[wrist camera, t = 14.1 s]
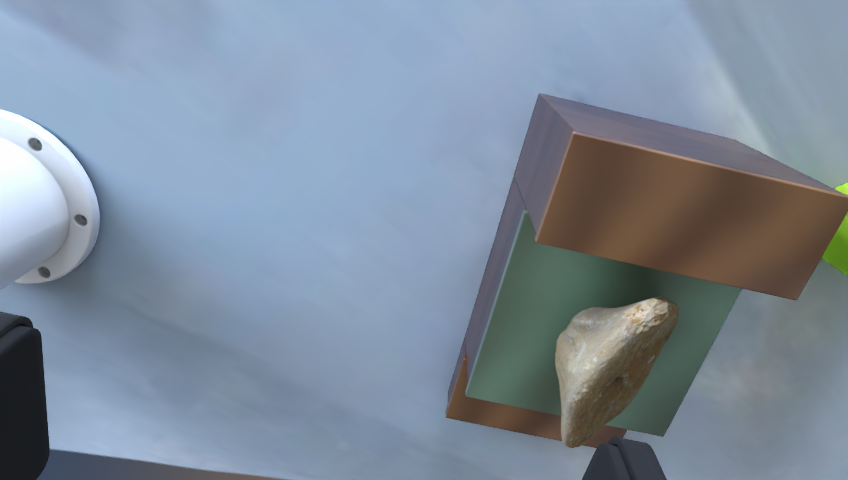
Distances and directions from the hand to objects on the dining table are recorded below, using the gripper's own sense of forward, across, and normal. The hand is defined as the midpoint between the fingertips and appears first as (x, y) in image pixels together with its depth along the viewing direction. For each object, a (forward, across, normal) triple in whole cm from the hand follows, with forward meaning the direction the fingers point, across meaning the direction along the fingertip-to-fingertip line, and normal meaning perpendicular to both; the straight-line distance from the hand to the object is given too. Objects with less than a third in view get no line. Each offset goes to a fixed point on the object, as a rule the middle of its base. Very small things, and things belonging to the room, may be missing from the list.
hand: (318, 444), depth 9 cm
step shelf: (+28, -14, +9) cm, 33 cm away
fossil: (+21, -14, +9) cm, 27 cm away
